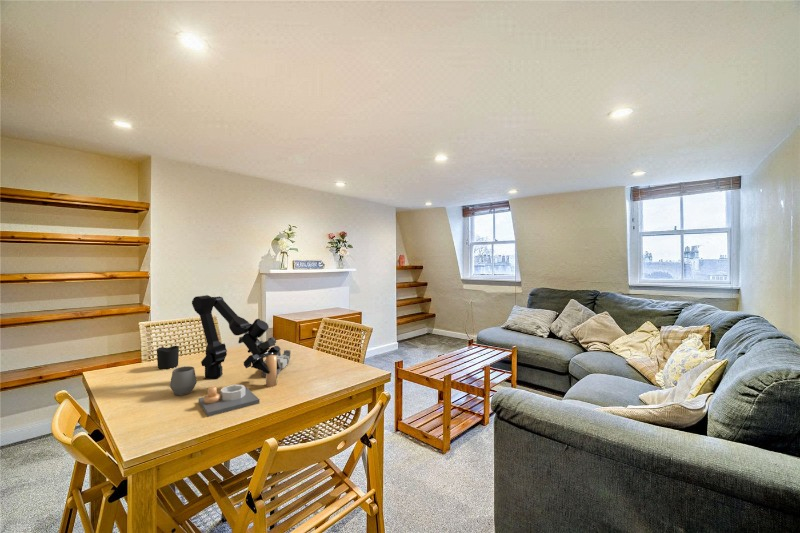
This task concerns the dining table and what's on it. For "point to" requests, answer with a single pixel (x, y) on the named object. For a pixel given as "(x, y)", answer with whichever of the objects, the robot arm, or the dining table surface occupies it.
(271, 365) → the tan peg
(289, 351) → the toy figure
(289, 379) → the dining table surface
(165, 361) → the pen holder
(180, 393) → the cup
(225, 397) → the octagonal socket plate
